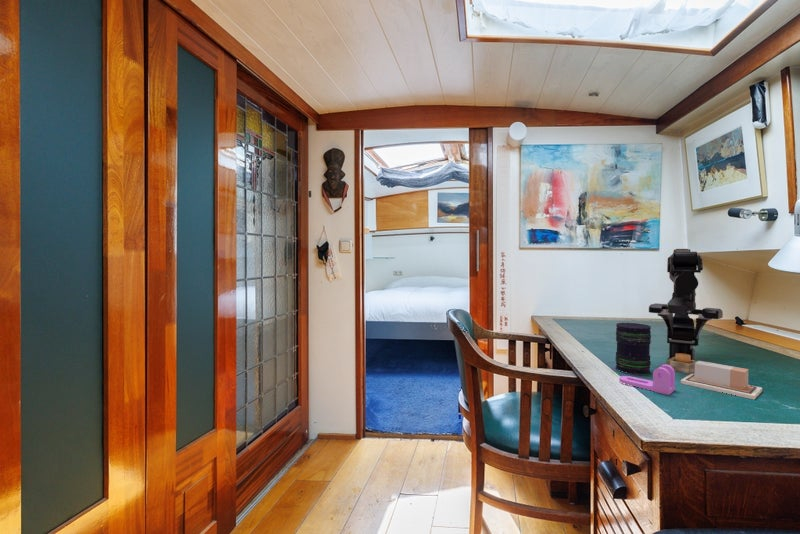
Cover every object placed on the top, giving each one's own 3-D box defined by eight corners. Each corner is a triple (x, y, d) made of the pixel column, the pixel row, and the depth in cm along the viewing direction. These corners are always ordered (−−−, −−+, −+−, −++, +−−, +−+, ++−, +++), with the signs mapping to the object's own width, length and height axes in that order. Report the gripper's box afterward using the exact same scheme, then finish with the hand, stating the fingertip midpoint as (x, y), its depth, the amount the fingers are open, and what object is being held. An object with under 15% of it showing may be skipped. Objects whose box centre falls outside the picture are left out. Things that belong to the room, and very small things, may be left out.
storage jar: (644, 377, 116) (645, 329, 116) (610, 370, 124) (611, 325, 123) (654, 370, 123) (655, 325, 123) (621, 364, 130) (622, 321, 130)
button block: (666, 369, 124) (666, 360, 124) (673, 365, 129) (673, 356, 129) (692, 374, 119) (692, 365, 119) (699, 370, 123) (699, 361, 123)
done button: (673, 363, 124) (673, 354, 124) (677, 361, 126) (677, 352, 126) (688, 366, 121) (688, 357, 121) (692, 364, 123) (692, 355, 123)
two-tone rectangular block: (694, 380, 110) (694, 363, 110) (699, 377, 113) (699, 360, 113) (744, 390, 101) (744, 372, 101) (748, 387, 104) (748, 369, 104)
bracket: (674, 390, 105) (675, 366, 105) (668, 395, 101) (669, 370, 101) (623, 379, 115) (623, 356, 115) (616, 383, 111) (616, 360, 111)
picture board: (680, 383, 111) (680, 379, 110) (691, 376, 117) (691, 372, 117) (754, 399, 98) (754, 395, 98) (762, 391, 104) (762, 386, 104)
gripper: (642, 289, 125) (642, 335, 126) (713, 293, 111) (712, 345, 111) (655, 287, 132) (654, 331, 133) (723, 291, 117) (722, 340, 118)
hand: (683, 336), depth 123 cm, fingers open, 6 cm apart
